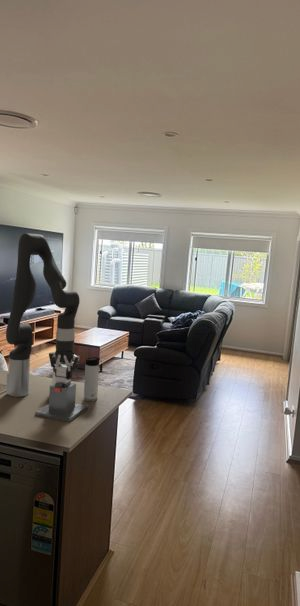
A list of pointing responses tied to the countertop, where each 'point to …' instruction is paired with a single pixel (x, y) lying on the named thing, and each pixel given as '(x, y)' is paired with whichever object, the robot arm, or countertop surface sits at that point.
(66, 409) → the stepped pedestal base
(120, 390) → the countertop surface
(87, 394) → the travel mug
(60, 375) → the block
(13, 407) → the countertop surface
